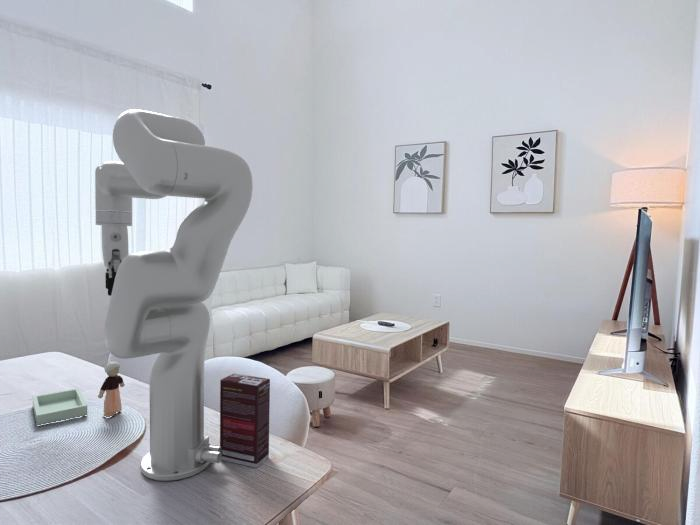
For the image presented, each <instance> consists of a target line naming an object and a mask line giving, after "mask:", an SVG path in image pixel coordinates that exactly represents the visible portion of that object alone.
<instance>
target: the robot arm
mask: <svg viewBox="0 0 700 525" xmlns="http://www.w3.org/2000/svg"><path fill="white" fill-rule="evenodd" d="M112 143H113V147H114V151H115V153H116V154H117V157H118V158H119V160H120V161H114V160H113V161H112V160H111V161H110V160H109V161H105V162H103V163H102V164H100V165H97V167H96V168H95V170H94V172H95V173H94V175H95V176H94V178H95V180H94V185H95V186H94V188H95V190H94V191H95V192H94V193H95V194H94V195H95V196H94V198H95V205H94V206H95V207H94V208H95V225H96V226H101V250H102V251H101V252H102V260H103V261H102V262H103V266H104V267H105V268H106V272H105V289H107V295H108V296H109V297H110V299H109V303H108V308H107V313H106V317H105V324H104V330H103V331H104V336H103V337H104V342H105V346H106V349H107V351H108V352H109V353H110V355H112V356H113V357H114V358H115V357H116V358H118V359H123V360H125V359H126V360H127V359H128V360H129V359H134V358H140V357H146V356H147V357H148V356H151V355H156V354H159V355H158V356H157V357H156V360H155V361H154V362H153V365H152V367H151V370H150V375H149V452H148V453H147V454H146V455H145V456H144V457H143V458H142V460H141V462H140V470H141V473H142V474H143V475H144V476H145V477H146V478H148V479H151V480H153V481H154V480H155V481H161V482H162V481H163V482H165V481H166V482H170V481H177V480H183V479H187V478H189V477H192V476H194V475H196V474H199V473H201V472H202V471H204V470H205V469H206V468H207V467H208V466H209V465H211V463H213V464H219V463H220V462H221V461H222V460H221V458H222V453H221V450H222V448H221V446H220V445H211V443H210V436H209V435H205V360H206V359H205V358H206V350H207V349H206V348H207V342H208V337H209V333H210V325H211V324H210V323H211V316H210V312H209V309H208V308H207V306H206V305H205V303H204V302H205V301H206V300H208V299H209V298H211V295H213V292H214V290H215V287H216V286H217V282H218V279H219V277H220V274H221V271H222V268H223V265H224V262H225V260H226V256H227V254H228V252H229V248H230V245H231V242H232V240H233V238H234V236H235V234H236V232H237V230H238V229H239V228H240V226H241V224H242V222H243V221H244V218H245V216H246V214H247V213H248V210H249V208H250V206H251V205H250V204H251V202H252V196H253V176H252V172H251V168H250V167H249V164H248V163H247V161H246V160H245V159H244V158H242V157H241V156H240V155H238V154H236V153H235V152H232V151H229V150H225V149H223V148H218V147H213V146H208V145H206V140H205V136H204V133H202V131H201V130H200V129H199V127H198V126H197V125H195V124H194V123H193V122H191V121H189V120H187V119H184V118H182V117H181V118H180V117H177V116H173V115H167V114H164V113H157V112H153V111H148V110H144V109H143V110H142V109H136V108H135V109H129V110H126V111H124V112H122V113H121V114H120V115H119V116H118V117H117V119H116V120H115V123H114V127H113V130H112ZM166 197H180V198H190V199H192V198H193V199H204V201H203V203H201V204H200V205H199V206H197V207H196V208H195V209H193V210H192V211H190V213H189V214H188V215H187V216H186V217H185V219H183V221H182V222H181V223H180V224H179V227H178V229H177V233H176V236H175V240H174V243H173V245H172V247H171V248H168V249H165V250H143V251H136V252H132V253H130V254H129V231H128V227H133V198H134V199H147V200H159V199H163V198H166Z"/></svg>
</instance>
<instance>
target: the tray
mask: <svg viewBox="0 0 700 525" xmlns="http://www.w3.org/2000/svg"><path fill="white" fill-rule="evenodd" d="M33 409H34V410H33ZM32 410H33V414H35V415H34V419H35V418H36V420H35V423H37V425H41V424H46V423H51V422H56V421H61V420H66V419H70V418H75V417H80V416H85V415H87V416H88V404H87V402H86V400H85V397H84V396H83V394H82V392H81V390H80V388H79V387H76V388H70V389H65V390H59V391H53V392H48V393H43V394H38V395H33V396H32ZM37 425H36V426H37Z"/></svg>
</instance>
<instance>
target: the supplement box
mask: <svg viewBox="0 0 700 525" xmlns="http://www.w3.org/2000/svg"><path fill="white" fill-rule="evenodd" d="M270 387H271V379H270V378H265V377H258V376H252V375H246V374H239V373H232V374H230V375H228V376H226V377H224V378H221V379H220V384H219V388H220V390H219V392H220V395H219V401H220V402H219V404H220V405H219V446H221V448H222V450H221V453H222V458H221V461H225V462H230V463H233V464H238V465H243V466H247V467H251V468H256V469H257V468H258V467H259V466H261V465H262V464H263V463H265V462H266V461H267V460H268V458H269V457H270V453H269V452H270V404H271V403H270V398H271V397H270V395H271V393H270V392H271V391H270V390H271V388H270Z"/></svg>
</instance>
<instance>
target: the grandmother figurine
mask: <svg viewBox="0 0 700 525" xmlns="http://www.w3.org/2000/svg"><path fill="white" fill-rule="evenodd" d="M120 368H121V364H120V363H119V362H117V361H110V362H108V363H106V364H105V365H104V369H103V370H104V373H106V375H107V377H106V378H105V380H104V381H103V383H102V385H101V387H100V388H99V392H98V395H97V397H98V399H102V398H103V397H104V402H103V414H102V416H103V415H104V416H106V417H110V416H113V415H114V416H115V414H113V413H116V412H120V411H121V412H122V410H123V408H122V406H123V405H122V399H121V392H120V387H121V388H124V387H125V383H124V379H123V377H122V376H121V375H119V372H120ZM104 394H105V396H104Z"/></svg>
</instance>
